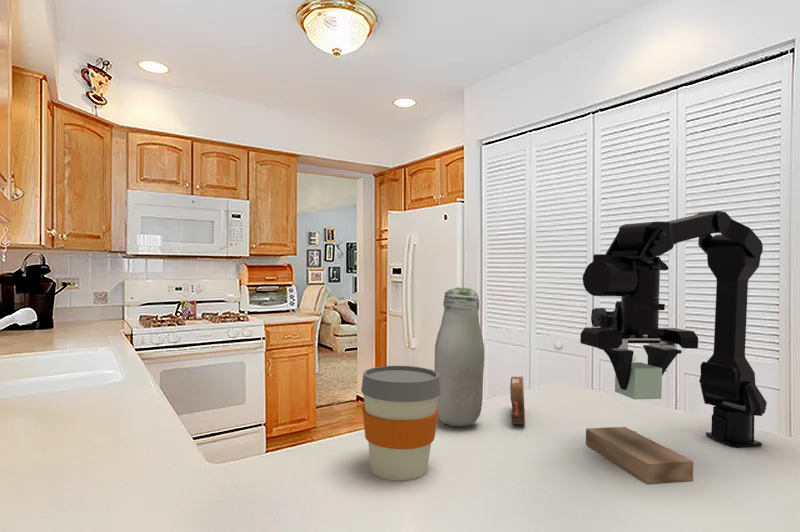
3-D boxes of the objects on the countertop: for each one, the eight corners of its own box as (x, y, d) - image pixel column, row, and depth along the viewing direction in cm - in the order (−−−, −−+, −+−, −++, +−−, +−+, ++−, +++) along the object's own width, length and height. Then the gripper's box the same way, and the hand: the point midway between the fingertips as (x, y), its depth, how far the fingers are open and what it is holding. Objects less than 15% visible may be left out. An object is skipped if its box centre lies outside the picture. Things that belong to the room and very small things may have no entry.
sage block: (640, 391, 83) (641, 362, 83) (661, 398, 78) (662, 368, 78) (614, 391, 82) (615, 362, 82) (634, 399, 77) (635, 368, 77)
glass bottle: (442, 434, 91) (446, 288, 91) (427, 417, 101) (430, 286, 101) (490, 431, 93) (493, 289, 93) (470, 415, 103) (473, 286, 103)
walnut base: (624, 442, 89) (624, 426, 89) (692, 480, 73) (693, 461, 73) (585, 444, 87) (586, 428, 87) (647, 484, 72) (647, 464, 72)
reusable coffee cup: (425, 492, 67) (427, 386, 67) (345, 477, 72) (347, 377, 72) (447, 459, 79) (449, 369, 79) (377, 448, 83) (380, 362, 84)
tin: (525, 431, 94) (526, 388, 94) (508, 429, 95) (509, 387, 95) (524, 409, 109) (525, 373, 109) (510, 408, 110) (511, 371, 110)
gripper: (653, 295, 90) (651, 377, 90) (564, 292, 86) (561, 378, 86) (702, 298, 79) (699, 392, 79) (601, 296, 76) (599, 395, 75)
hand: (637, 389), depth 80 cm, fingers closed on sage block, 5 cm apart
